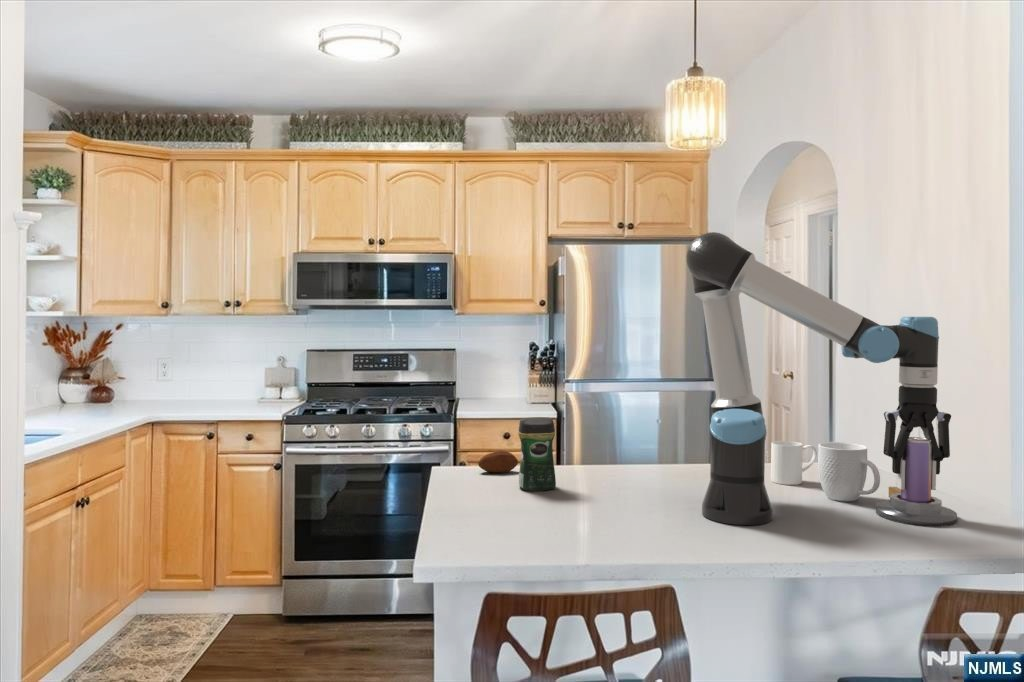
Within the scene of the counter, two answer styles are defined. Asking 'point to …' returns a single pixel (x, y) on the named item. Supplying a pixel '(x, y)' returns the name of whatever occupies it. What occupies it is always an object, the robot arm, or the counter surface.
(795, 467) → the mug
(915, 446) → the beverage can
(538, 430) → the coffee jar
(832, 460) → the mug
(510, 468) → the potato
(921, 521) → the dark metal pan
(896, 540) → the counter surface
